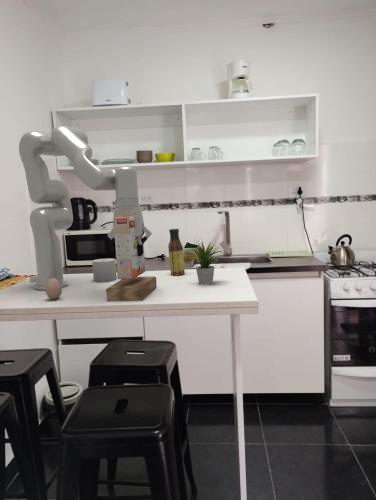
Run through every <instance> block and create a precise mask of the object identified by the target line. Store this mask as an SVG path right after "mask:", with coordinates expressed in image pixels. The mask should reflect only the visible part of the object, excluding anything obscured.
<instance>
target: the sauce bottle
mask: <svg viewBox="0 0 376 500" xmlns="http://www.w3.org/2000/svg"><path fill="white" fill-rule="evenodd" d="M168 230H169V235H170V237H169V239H170V240H169V243H168V245H167V246H168V261H169V270H170V275H171V276H183V275H184V274H185V268H186V267H185V259H184V257H185V256H184V247H183V244H182V241H181V240H180V234H179V233H180V229H179V228H170V229H168Z"/></svg>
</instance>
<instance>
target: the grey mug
mask: <svg viewBox="0 0 376 500" xmlns="http://www.w3.org/2000/svg"><path fill="white" fill-rule="evenodd" d="M91 263H92V275H93V277H92V279H93V282H95V283H110V282H115V281H116V280H118V278H117V263H116V258H109V257H108V258H97V259H94V260H92V262H91Z"/></svg>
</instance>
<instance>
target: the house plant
mask: <svg viewBox="0 0 376 500" xmlns="http://www.w3.org/2000/svg"><path fill="white" fill-rule="evenodd" d="M211 244H212V241H210V242H209V244H208V245H207V247H206V249H205V246H204V242H203V241H201V246H200V244H197V245H196V246H197V247H194V248H193V247H190V249H192V251H193V252H194V253H195V254H196V256H197V257H198V259H197V258H195V257H193V256H189V259H192V260H195V261H196V263H197V265H198V264H199V266H195V270H196V274H197V280H198V284H199V285H201V284H203V286H206V285H205V284H209V285H212V284H213V283H214V274H215V266H213V265H211V264H212V263H213V262H214V261H217V262H219V259H220V258H219V257H220V256H222V255H217V256H213V255H215V254H217V253H221V252H222V250H218V249H220V248H221V245H220V246H215V244H214V243H213V244H212V245H211ZM223 246H224V245H222V247H223ZM214 247H215V248H214ZM224 247H225V246H224ZM213 248H214V249H213ZM217 250H218V251H217Z"/></svg>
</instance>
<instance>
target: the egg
mask: <svg viewBox="0 0 376 500" xmlns="http://www.w3.org/2000/svg"><path fill="white" fill-rule="evenodd" d="M45 294H46V296H47V297H48V299H50V300H53V301H56V300H58V299H59V298H60V296H61V295H62V294H63V287H61V284H60V282H59V281H58V280H57V279H54V278H52V279H50V280H49V281H48V282H47V285H46V290H45Z"/></svg>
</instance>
